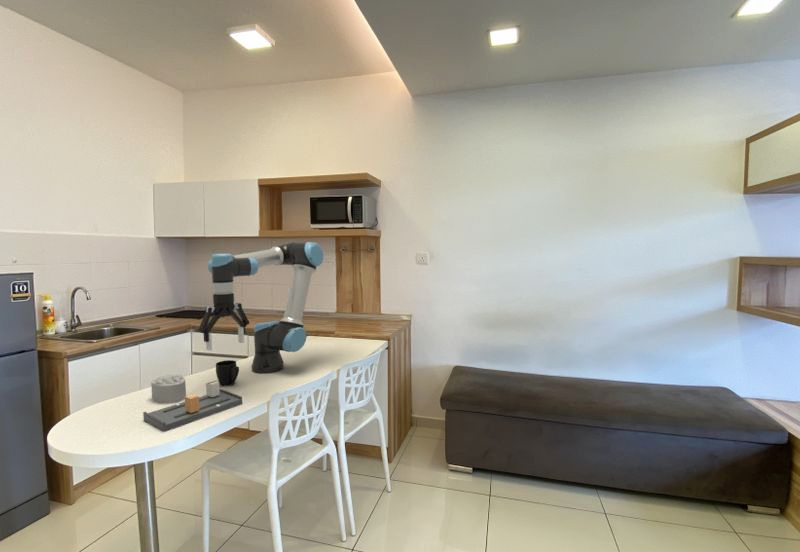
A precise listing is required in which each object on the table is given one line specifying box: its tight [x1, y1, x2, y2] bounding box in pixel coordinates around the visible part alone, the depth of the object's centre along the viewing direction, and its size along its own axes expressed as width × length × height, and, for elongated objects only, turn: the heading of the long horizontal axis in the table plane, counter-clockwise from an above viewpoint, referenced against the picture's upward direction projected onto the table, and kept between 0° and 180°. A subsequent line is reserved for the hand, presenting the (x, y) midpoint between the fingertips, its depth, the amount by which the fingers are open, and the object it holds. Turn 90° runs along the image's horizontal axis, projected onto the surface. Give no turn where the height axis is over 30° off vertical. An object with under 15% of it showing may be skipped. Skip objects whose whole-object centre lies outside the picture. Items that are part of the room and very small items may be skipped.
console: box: [142, 388, 243, 433], centre depth 143 cm, size 28×15×3 cm, turn 145°
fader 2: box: [205, 380, 220, 397], centre depth 153 cm, size 3×4×5 cm
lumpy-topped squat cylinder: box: [150, 373, 187, 405], centre depth 156 cm, size 10×13×9 cm
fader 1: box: [184, 393, 200, 413], centre depth 138 cm, size 3×4×5 cm
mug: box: [215, 359, 240, 387], centre depth 171 cm, size 8×12×10 cm
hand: (225, 346), depth 157 cm, fingers open, 13 cm apart
